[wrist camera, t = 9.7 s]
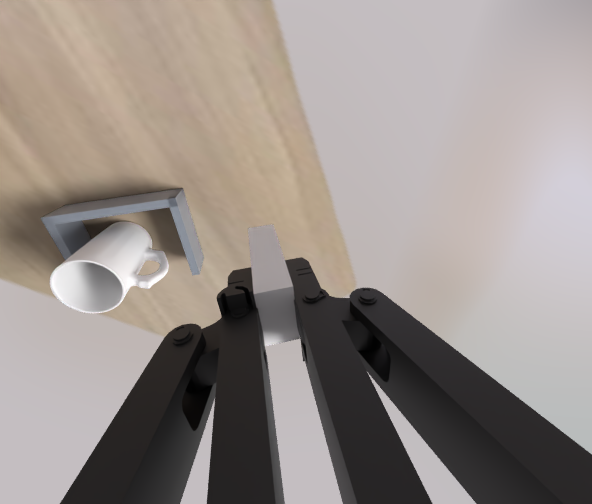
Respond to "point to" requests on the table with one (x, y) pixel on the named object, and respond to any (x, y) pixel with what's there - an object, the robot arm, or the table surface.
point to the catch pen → (74, 235)
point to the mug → (107, 269)
